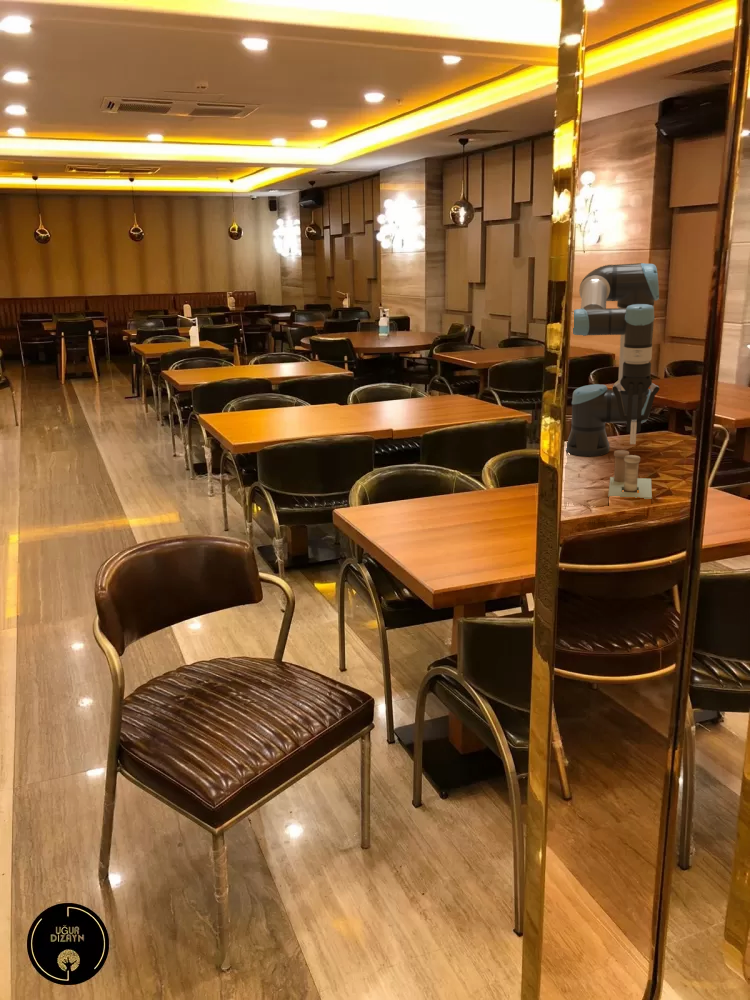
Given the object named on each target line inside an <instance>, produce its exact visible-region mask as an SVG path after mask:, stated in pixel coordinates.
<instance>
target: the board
mask: <svg viewBox="0 0 750 1000" xmlns="http://www.w3.org/2000/svg"><path fill="white" fill-rule="evenodd" d="M628 455H630V451H629V450H625V449H617V450H613V456H614V470H613V471H614V472H613V476H610V477H609V484H608V485H609V486H608V495H607V497H609V496H620V497H635V498H637V497H640V498H644V499H652V500H653V496H652V495H653V494H652V491H653V490H652V478H646V477H645V478H642V477H641V478H640V477H638V480H637V490H639V493H635V492H622V490H624V482H625V465H626V462H625V461H624V457H625V456H628Z"/></svg>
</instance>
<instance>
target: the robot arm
mask: <svg viewBox="0 0 750 1000" xmlns="http://www.w3.org/2000/svg"><path fill="white" fill-rule="evenodd" d="M580 282H581V283H580V285H579V290H578V292H579V297H580V298H581V301H580V302H581V303H580V308H576V309H574V310H573V311H574V328H573V333H572V334H573V335H575V336H583V337H584V336H614V335H615V336H620V337H619V338H620V340H619V342H620V343H619V357H618V359H619V360H618V361H619V362H618V363H619V364H618V378H617V379H618V380H617V381H616V382H614V384H613V385H612V388H611V389H608V387H607V385H605V384H599V383H595V384H588V385H583V386H580V387H578V388H576V389H575V390H573V392H572V400H571V427H570V428H571V430H570V433H569V434H568V435H569V436H568V437H567V440H568V442H567V441H566V443H567V450H566V449H565V451H566V453H568V454H571V455H573V456H579V457H598V456H603V455H606V454H608V453H609V452H610V443H609V439H608V436H607V432H606V424H626V430H625V431H626V433H629V445H636V443H637V442H636V441H637V433H641V427H642V424H643V423H645V422H647V421H648V419H649V417H650V414H651V410H652V407H653V404H654V400H655V397H656V395H657V394H658V392H659V391H660V386H659V385H658V384H657V385H656V384H655V383H653V381H652V378H651V374H652V373H651V372H652V363H651V360H652V358H653V357H652V355H653V339H654V338H653V336H654V323H655V322H654V321H655V302H657V301H659V299H660V285H659V274H658V268H657V266H656V264H654V263H643V262H639V263H623V264H621V263H620V264H605V265H603V266H599V267H597V268H595V269H593V270H592V271H590V272H589V273H588V274H586V275H585V276H584V277H583V279H582V280H581V281H580ZM607 302H617V303H616V307H615V308H607Z"/></svg>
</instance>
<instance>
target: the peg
mask: <svg viewBox="0 0 750 1000" xmlns="http://www.w3.org/2000/svg"><path fill="white" fill-rule="evenodd" d="M624 461H625V462H626V465H625V482H624V492H635V493H637V480H638V478H639V463H640V462H641V457H640V456H639V455H636V454H634V455H633V454H629V455H628V456H625V457H624Z"/></svg>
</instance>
